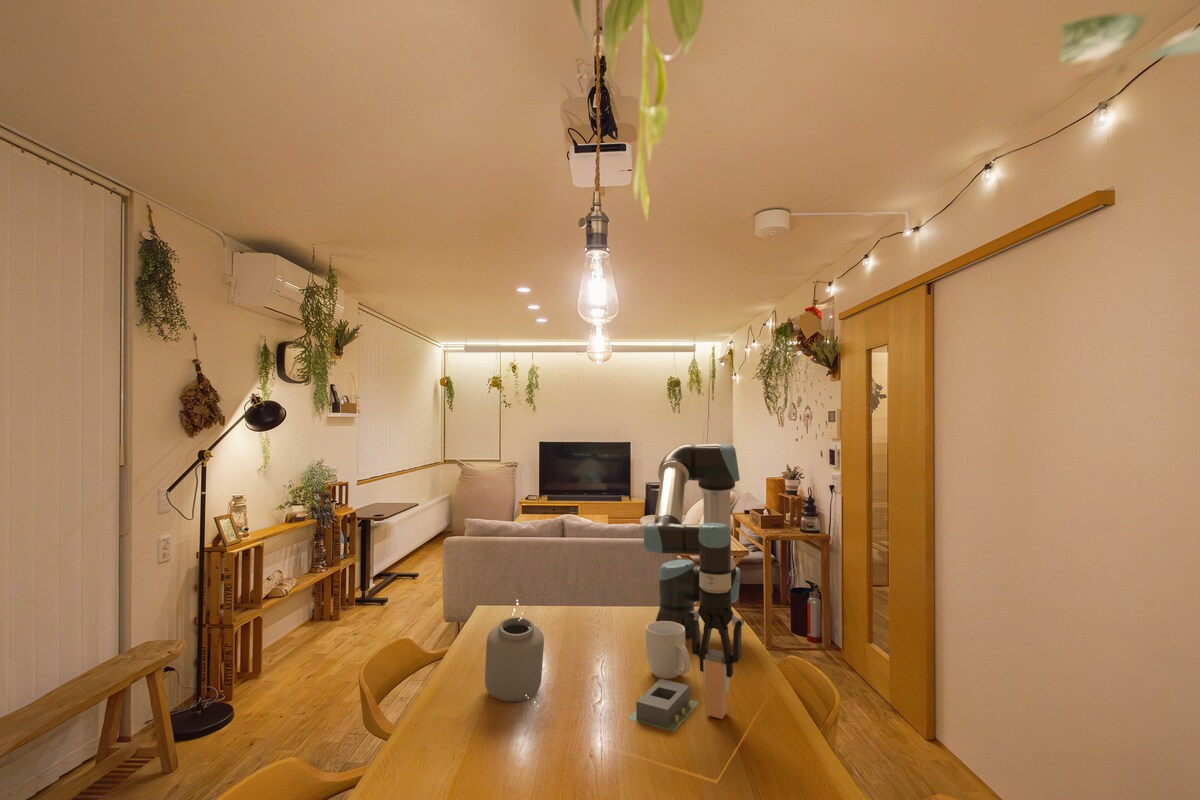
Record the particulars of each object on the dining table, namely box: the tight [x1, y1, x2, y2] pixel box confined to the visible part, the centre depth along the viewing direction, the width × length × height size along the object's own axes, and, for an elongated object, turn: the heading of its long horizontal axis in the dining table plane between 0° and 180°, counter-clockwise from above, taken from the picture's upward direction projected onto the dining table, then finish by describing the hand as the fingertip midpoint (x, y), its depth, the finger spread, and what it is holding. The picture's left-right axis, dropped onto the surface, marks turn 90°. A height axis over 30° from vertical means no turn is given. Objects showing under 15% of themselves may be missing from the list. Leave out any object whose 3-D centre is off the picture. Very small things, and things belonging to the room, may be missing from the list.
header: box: [626, 678, 699, 733], centre depth 140 cm, size 16×12×4 cm
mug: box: [645, 621, 691, 680], centre depth 159 cm, size 15×11×13 cm
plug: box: [705, 648, 728, 720], centre depth 138 cm, size 4×4×14 cm
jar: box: [484, 599, 545, 707], centre depth 149 cm, size 19×15×25 cm
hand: (716, 687), depth 138 cm, fingers closed on plug, 4 cm apart
